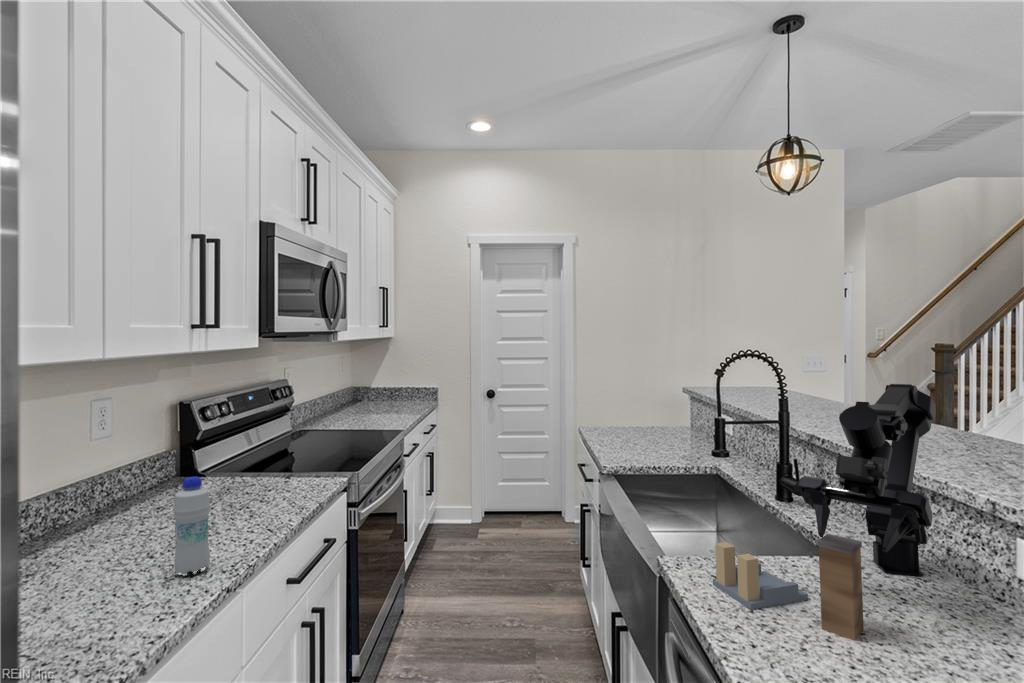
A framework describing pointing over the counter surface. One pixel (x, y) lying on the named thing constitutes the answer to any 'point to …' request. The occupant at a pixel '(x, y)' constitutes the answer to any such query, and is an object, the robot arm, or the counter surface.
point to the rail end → (841, 585)
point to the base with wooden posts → (751, 581)
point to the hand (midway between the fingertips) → (851, 543)
